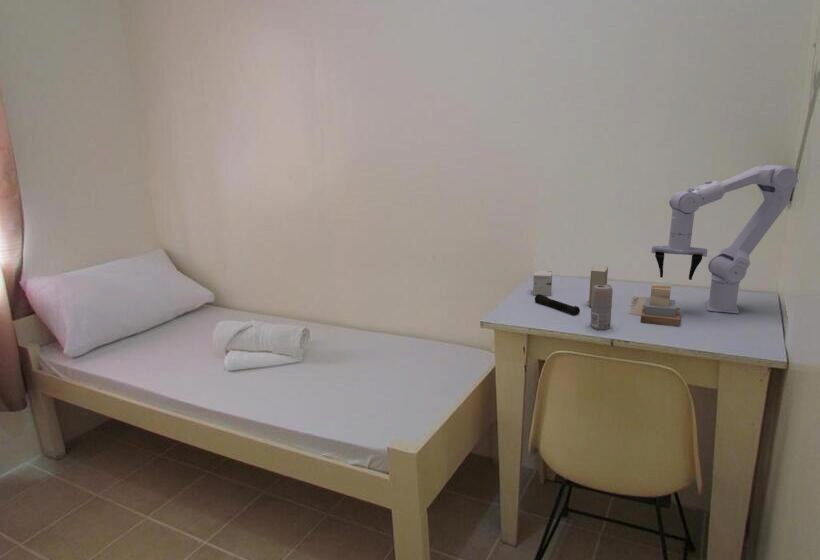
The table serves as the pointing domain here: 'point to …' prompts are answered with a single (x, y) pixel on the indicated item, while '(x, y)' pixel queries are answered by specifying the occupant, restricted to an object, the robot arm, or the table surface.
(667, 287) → the beech cube
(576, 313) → the flashlight
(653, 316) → the tower base slab
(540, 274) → the skincare box
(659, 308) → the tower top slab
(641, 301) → the grooming comb
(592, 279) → the skincare box
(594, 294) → the energy drink
